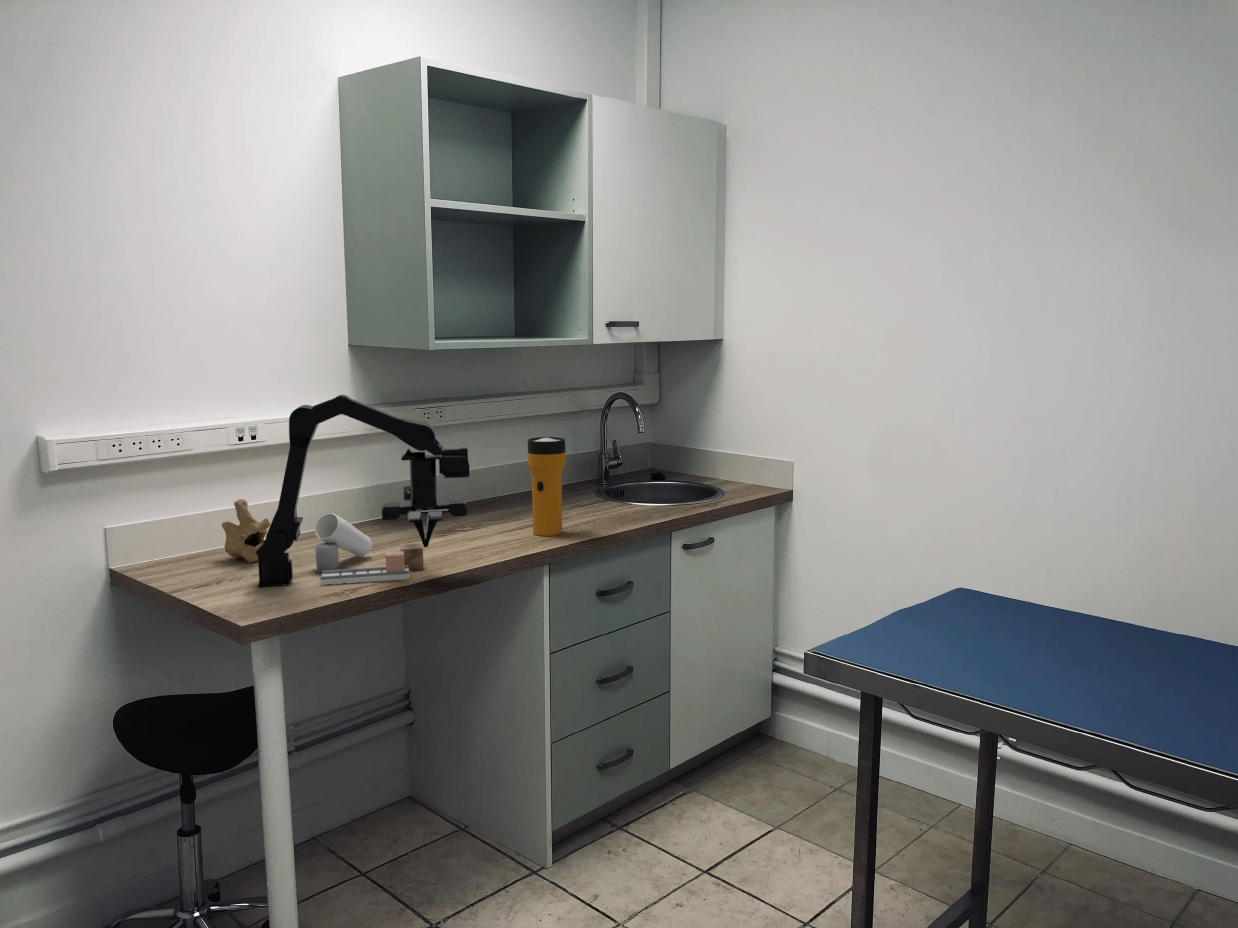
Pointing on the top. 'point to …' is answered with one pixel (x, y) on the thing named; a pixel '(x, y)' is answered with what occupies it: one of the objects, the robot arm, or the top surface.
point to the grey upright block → (327, 557)
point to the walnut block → (413, 555)
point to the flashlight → (546, 483)
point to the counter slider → (395, 561)
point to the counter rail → (362, 575)
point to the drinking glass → (342, 534)
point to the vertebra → (244, 533)
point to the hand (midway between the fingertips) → (425, 546)
